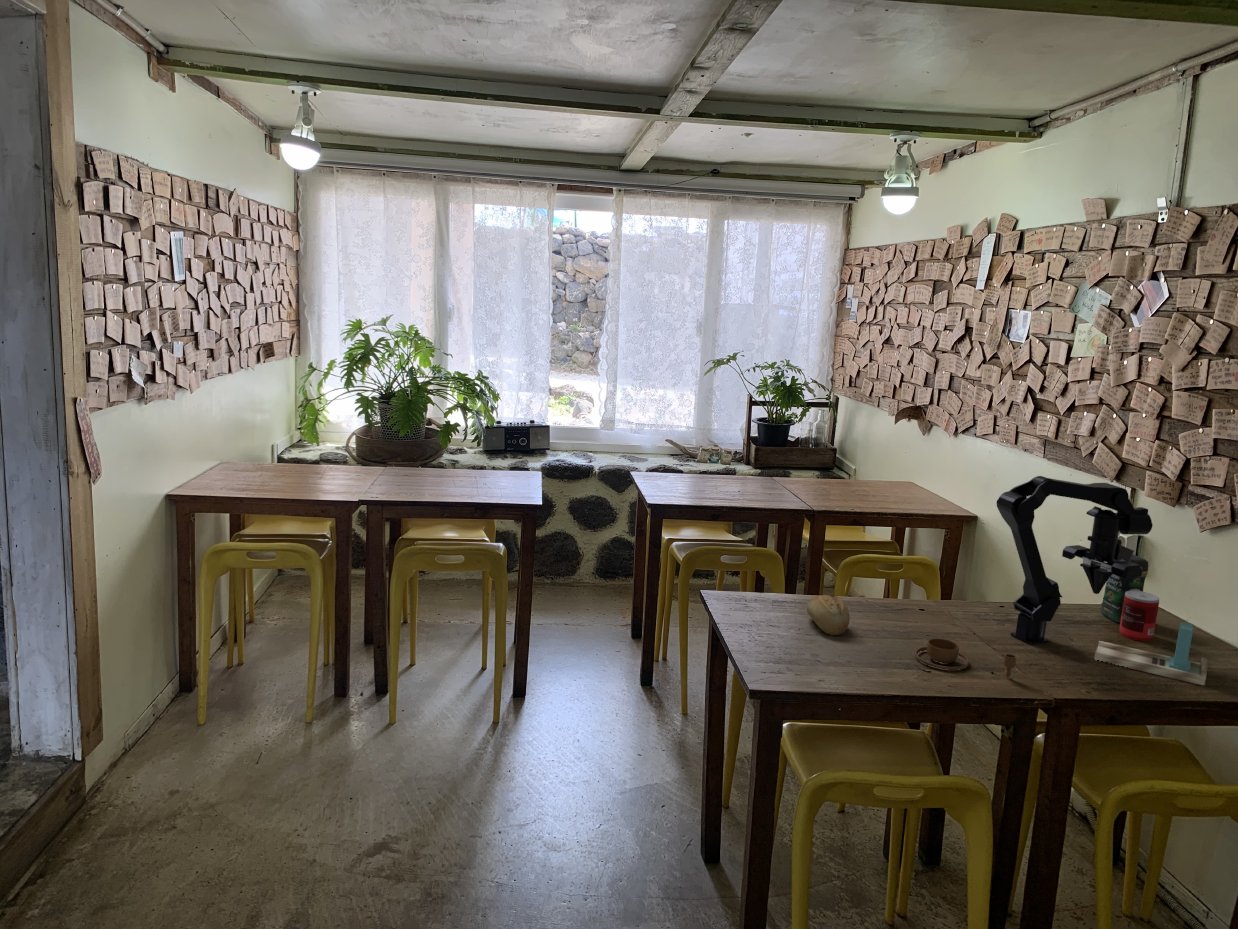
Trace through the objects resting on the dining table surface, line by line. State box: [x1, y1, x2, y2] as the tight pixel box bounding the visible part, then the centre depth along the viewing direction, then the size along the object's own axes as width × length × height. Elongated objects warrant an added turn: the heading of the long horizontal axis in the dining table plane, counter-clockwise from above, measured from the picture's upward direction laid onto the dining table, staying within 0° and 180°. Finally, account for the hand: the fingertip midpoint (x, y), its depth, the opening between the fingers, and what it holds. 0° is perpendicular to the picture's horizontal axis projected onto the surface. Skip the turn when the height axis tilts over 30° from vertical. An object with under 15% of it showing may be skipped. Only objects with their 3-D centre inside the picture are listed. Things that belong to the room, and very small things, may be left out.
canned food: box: [1119, 591, 1160, 642], centre depth 220 cm, size 8×8×11 cm
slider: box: [1169, 621, 1194, 672], centre depth 197 cm, size 4×6×10 cm, turn 146°
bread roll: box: [806, 594, 851, 636], centre depth 218 cm, size 10×15×8 cm, turn 11°
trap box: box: [1093, 640, 1208, 686], centre depth 201 cm, size 22×9×4 cm, turn 56°
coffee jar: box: [1100, 553, 1149, 623], centre depth 231 cm, size 10×8×19 cm
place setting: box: [914, 638, 1017, 677], centre depth 196 cm, size 18×20×6 cm
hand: (1096, 593), depth 215 cm, fingers closed
